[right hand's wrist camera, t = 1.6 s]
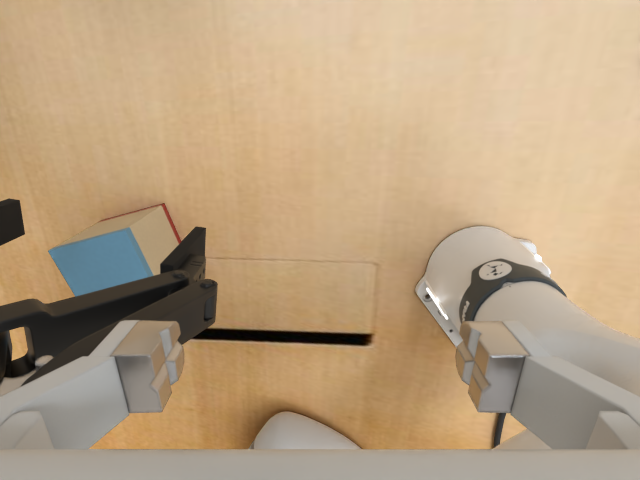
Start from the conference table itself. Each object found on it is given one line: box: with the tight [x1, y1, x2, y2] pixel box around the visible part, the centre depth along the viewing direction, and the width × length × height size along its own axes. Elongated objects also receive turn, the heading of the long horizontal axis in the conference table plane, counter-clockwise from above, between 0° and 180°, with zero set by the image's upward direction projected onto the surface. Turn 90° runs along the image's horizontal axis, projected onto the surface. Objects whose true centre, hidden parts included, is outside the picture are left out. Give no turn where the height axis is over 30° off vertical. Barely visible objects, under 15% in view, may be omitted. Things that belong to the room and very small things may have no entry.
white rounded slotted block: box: [249, 412, 361, 449], centre depth 63 cm, size 22×23×15 cm
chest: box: [56, 203, 181, 275], centre depth 50 cm, size 15×10×10 cm
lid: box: [48, 227, 154, 297], centre depth 42 cm, size 15×10×9 cm, turn 15°
